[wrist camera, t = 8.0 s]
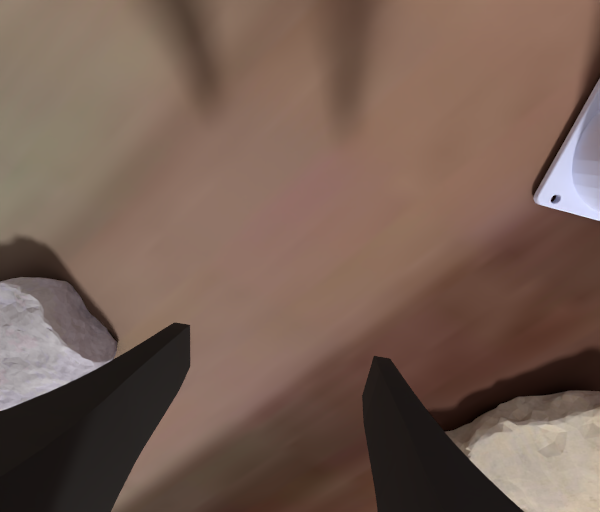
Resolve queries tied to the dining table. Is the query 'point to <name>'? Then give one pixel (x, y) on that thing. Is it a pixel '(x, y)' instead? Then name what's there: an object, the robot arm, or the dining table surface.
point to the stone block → (46, 338)
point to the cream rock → (540, 450)
